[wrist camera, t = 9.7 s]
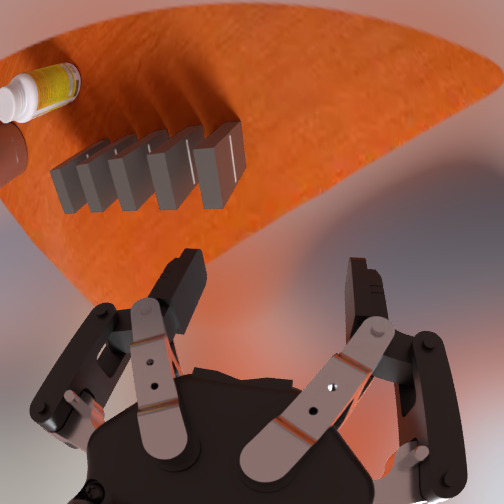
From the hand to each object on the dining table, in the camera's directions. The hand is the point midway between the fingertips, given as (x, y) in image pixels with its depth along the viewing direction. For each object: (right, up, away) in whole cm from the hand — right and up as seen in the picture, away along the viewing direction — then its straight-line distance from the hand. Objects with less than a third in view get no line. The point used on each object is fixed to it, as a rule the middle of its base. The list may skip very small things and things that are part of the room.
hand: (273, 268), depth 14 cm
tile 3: (-10, +12, +17) cm, 23 cm away
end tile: (-18, +12, +18) cm, 29 cm away
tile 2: (-7, +12, +16) cm, 21 cm away
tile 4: (-14, +12, +17) cm, 26 cm away
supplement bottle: (-23, +21, +13) cm, 34 cm away
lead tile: (-3, +12, +15) cm, 19 cm away
